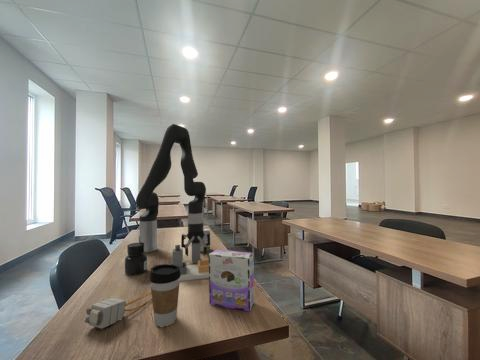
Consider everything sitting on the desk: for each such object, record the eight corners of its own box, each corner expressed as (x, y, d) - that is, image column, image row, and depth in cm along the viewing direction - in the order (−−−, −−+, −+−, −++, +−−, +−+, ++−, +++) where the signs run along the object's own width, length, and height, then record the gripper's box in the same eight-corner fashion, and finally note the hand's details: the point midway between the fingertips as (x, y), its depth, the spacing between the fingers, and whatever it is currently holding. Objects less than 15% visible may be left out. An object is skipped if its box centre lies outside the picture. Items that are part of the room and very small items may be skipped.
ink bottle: (151, 271, 98) (150, 244, 98) (130, 278, 92) (129, 249, 92) (141, 266, 105) (141, 240, 105) (121, 271, 98) (121, 244, 98)
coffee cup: (154, 312, 68) (154, 263, 68) (183, 311, 68) (182, 261, 68) (145, 331, 59) (145, 274, 59) (178, 329, 60) (177, 273, 60)
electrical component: (148, 299, 82) (150, 284, 83) (161, 302, 80) (163, 287, 80) (83, 326, 60) (86, 305, 61) (99, 331, 58) (102, 309, 58)
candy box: (254, 302, 73) (254, 252, 73) (249, 312, 67) (249, 258, 67) (216, 295, 77) (215, 248, 77) (208, 304, 72) (208, 253, 72)
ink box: (209, 248, 131) (208, 228, 131) (210, 251, 126) (210, 230, 126) (194, 249, 129) (194, 229, 129) (194, 252, 124) (194, 231, 124)
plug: (191, 262, 109) (191, 240, 109) (191, 259, 112) (191, 238, 112) (200, 262, 109) (200, 239, 109) (199, 259, 113) (199, 237, 113)
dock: (162, 282, 87) (162, 250, 87) (165, 270, 99) (165, 242, 99) (221, 276, 93) (220, 246, 93) (217, 265, 104) (217, 239, 104)
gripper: (209, 219, 116) (209, 251, 116) (181, 221, 113) (181, 253, 113) (210, 222, 109) (211, 256, 109) (180, 224, 106) (180, 258, 106)
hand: (195, 254), depth 111 cm, fingers open, 8 cm apart
